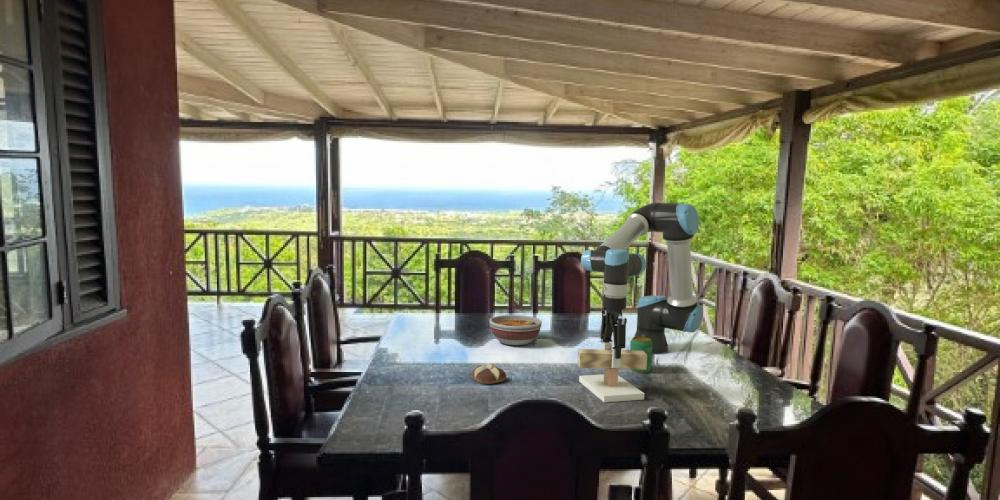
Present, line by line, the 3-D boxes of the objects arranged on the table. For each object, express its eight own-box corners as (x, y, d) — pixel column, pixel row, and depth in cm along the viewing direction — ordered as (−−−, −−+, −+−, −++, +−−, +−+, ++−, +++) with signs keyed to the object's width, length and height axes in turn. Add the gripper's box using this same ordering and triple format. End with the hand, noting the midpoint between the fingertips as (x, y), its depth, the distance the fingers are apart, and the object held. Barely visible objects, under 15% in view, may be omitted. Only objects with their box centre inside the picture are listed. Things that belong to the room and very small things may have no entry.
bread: (468, 377, 194) (468, 363, 193) (497, 373, 198) (498, 360, 198) (479, 387, 183) (479, 372, 183) (510, 383, 188) (510, 369, 187)
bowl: (550, 341, 244) (550, 319, 243) (524, 353, 225) (525, 329, 224) (506, 333, 256) (507, 312, 255) (478, 343, 237) (479, 321, 236)
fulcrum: (615, 379, 195) (616, 357, 194) (644, 399, 176) (645, 375, 175) (579, 381, 191) (580, 359, 191) (604, 402, 172) (605, 377, 171)
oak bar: (579, 367, 180) (580, 352, 180) (577, 363, 185) (578, 348, 185) (646, 369, 180) (647, 354, 180) (642, 365, 185) (643, 350, 185)
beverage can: (636, 365, 212) (637, 335, 211) (654, 370, 206) (656, 339, 205) (624, 369, 206) (626, 338, 205) (643, 375, 201) (645, 343, 200)
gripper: (592, 291, 189) (589, 356, 191) (617, 301, 171) (614, 374, 173) (612, 291, 191) (609, 356, 193) (639, 301, 172) (635, 372, 175)
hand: (611, 364), depth 183 cm, fingers closed on oak bar, 6 cm apart
